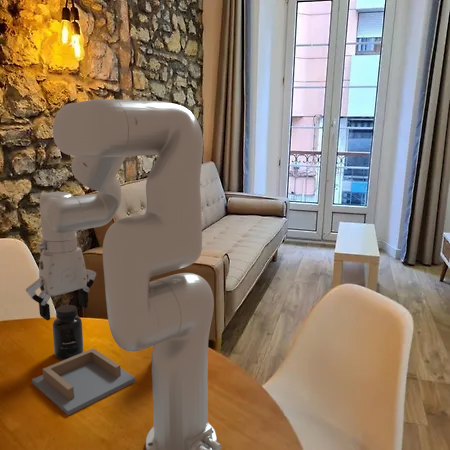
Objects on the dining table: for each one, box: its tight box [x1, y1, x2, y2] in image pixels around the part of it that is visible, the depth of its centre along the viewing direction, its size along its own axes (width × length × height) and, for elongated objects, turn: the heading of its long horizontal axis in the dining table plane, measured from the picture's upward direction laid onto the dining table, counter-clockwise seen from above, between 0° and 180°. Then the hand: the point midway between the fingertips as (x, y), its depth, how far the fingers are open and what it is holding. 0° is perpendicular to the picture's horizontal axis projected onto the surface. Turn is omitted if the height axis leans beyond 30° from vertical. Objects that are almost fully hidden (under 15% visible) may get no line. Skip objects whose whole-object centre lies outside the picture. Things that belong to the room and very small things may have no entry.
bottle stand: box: [31, 348, 137, 416], centre depth 96 cm, size 16×16×4 cm
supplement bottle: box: [52, 304, 84, 361], centre depth 107 cm, size 7×7×12 cm
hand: (65, 312), depth 107 cm, fingers open, 9 cm apart
